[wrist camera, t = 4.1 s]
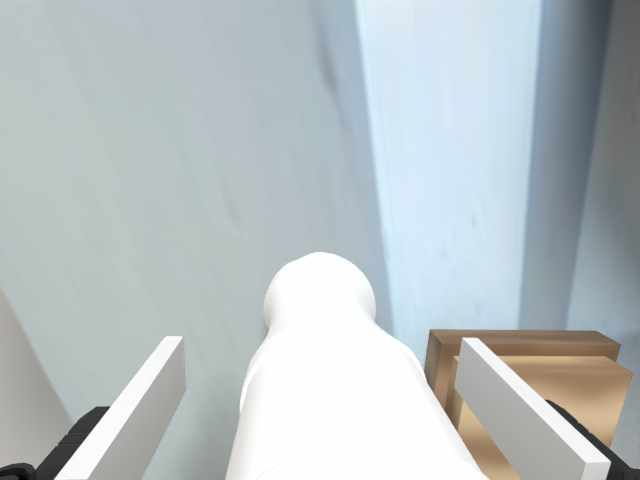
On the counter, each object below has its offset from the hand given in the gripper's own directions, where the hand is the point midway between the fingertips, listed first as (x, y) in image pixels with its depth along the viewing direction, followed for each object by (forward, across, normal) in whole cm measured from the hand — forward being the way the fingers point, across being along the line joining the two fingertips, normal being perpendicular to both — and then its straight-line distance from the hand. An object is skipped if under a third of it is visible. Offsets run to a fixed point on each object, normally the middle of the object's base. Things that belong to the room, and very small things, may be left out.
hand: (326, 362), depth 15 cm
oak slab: (+7, +16, -10) cm, 20 cm away
